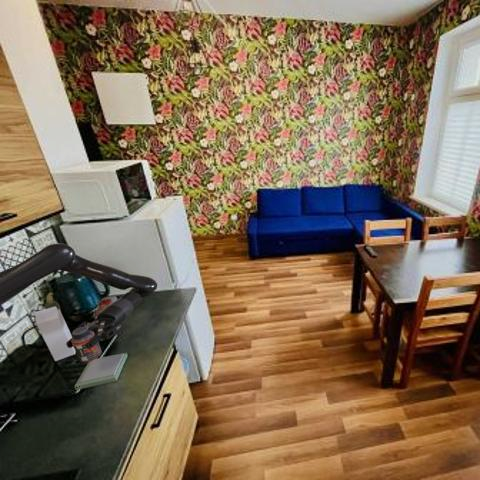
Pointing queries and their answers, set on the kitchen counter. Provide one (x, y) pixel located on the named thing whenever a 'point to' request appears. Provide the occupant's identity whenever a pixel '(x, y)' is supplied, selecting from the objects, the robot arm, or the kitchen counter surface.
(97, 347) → the supplement bottle
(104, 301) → the food item
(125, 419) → the kitchen counter surface
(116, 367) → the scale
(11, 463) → the kitchen counter surface
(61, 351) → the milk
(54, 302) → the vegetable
